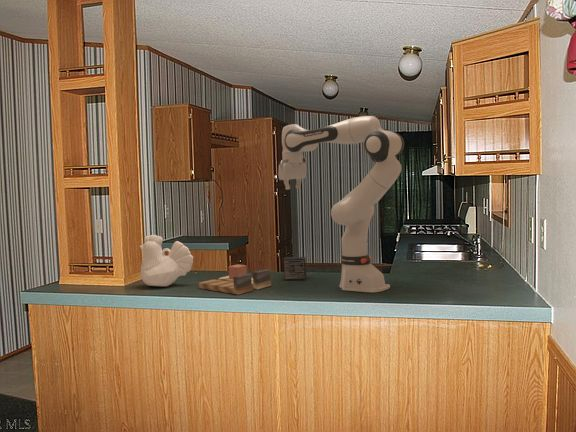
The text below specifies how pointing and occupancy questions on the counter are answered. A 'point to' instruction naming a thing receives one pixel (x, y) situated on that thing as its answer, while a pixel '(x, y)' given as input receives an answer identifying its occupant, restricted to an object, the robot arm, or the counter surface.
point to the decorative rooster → (163, 262)
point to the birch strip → (255, 286)
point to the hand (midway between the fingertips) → (293, 189)
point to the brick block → (237, 270)
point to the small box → (295, 268)
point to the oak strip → (230, 285)
